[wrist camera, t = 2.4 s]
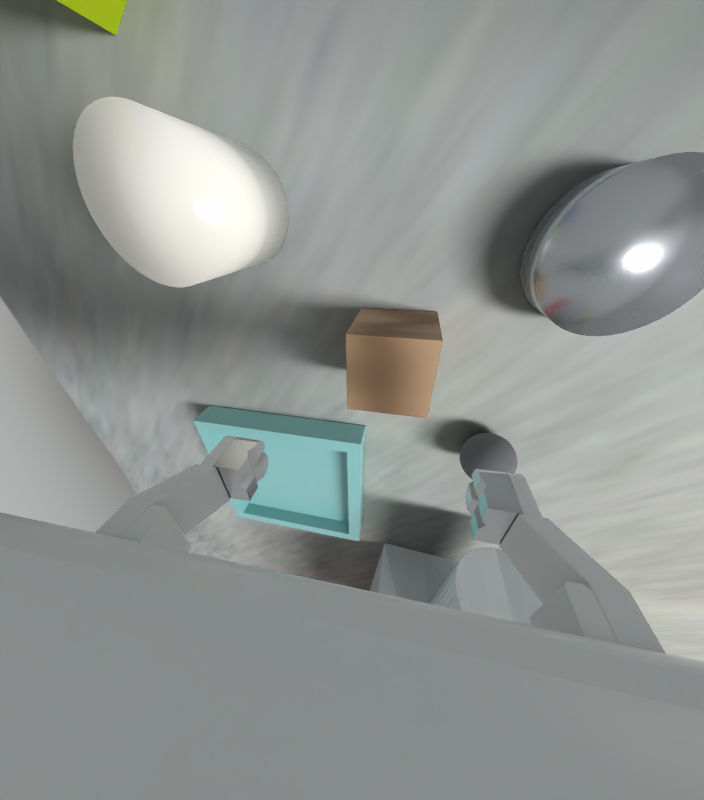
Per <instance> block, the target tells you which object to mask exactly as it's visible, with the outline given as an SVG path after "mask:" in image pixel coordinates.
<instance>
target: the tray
mask: <svg viewBox="0 0 704 800" xmlns="http://www.w3.org/2000/svg"><path fill="white" fill-rule="evenodd" d="M193 422H194V424H195V426H196V428H197V431H198V433H199V435H200V437H201V439H202V441H203V444H204V446H205V448H206V450H207V452H208V454H210V453H211V451H212V450H213V449H214V448H215V447H216V446H217V444H218V443H219V442H220V441H221V440H222V439H223V438H224V437H226V436H234V437H242V438H248V439H254V440H260V441H263V442H264V445H265V449H264V450H263V452H265V453H266V454H267V456H268V468H267V472H266V474H265V476H264V478H262V479H261V480H259V481H258V482H257V484H258V488H257V490H256V492H255V493H254V495H253V497H252V499H251V500H250V501H245V500H238V499H231V498H230V502H231V505H232V507H233V509H234V511H235V513H236V515H237V517H242V518H247V519H252V520H257V521H262V522H266V523H271V524H276V525H281V526H286V527H291V528H296V529H300V530H305V531H310V532H315V533H320V534H325V535H330V536H334V537H339V538H344V539H349V540H354V541H359V539H360V534H361V528H362V523H363V490H364V456H365V426H362V425H355V424H347V423H339V422H331V421H324V420H316V419H308V418H301V417H293V416H285V415H277V414H270V413H262V412H254V411H246V410H239V409H231V408H223V407H215V406H208V407H207V408H206V409H205V410H204V411H203V412H202V413H201V414H200V415H198V416H197V417H196V418H195V419H194V420H193Z"/></svg>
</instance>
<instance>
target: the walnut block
mask: <svg viewBox="0 0 704 800" xmlns="http://www.w3.org/2000/svg"><path fill="white" fill-rule="evenodd" d="M442 342H443V340H442V335H441V329H440V324H439V318H438V313H437V312H434V311H415V310H396V309H377V308H361V310H360V311H359V313H358V315H357V316H356V318H355V320H354V321H353V323H352V324H351V326H350V328H349V329H348V331H347V333H346V370H347V409H355V410H363V411H372V412H380V413H388V414H397V415H405V416H413V417H422V418H427V416H428V411H429V406H430V401H431V396H432V391H433V386H434V381H435V376H436V371H437V366H438V362H439V357H440V352H441V347H442Z"/></svg>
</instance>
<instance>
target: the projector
mask: <svg viewBox="0 0 704 800" xmlns="http://www.w3.org/2000/svg"><path fill="white" fill-rule="evenodd" d="M369 591H372V592H377V593H381V594H386V595H391V596H396V597H400V598H405V599H410V600H414V601H419V602H424V603H428V604H433V605H438V606H443V607H447V608H452V609H457V610H461V611H466V612H471V613H475V614H480V615H485V616H490V617H494V618H499V619H504V620H508V621H513V622H518V623H523V624H527V625H531V621H530V617H531V615H532V614H533V613H534V612H535V611H536V610H537V609H538V608H540V607H541V606H542V605H543V604H542V603H541V601H540V600H539V599H538V597H537V596H536V595H535V593H534V592H533V591H532V589H531V588H530V587H529V585H528V584H527V583H526V581H525V580H524V579H523V577H522V576H521V574H520V573H519V572H518V570H517V569H516V568H515V566H514V565H513V564H512V562H511V561H510V560H509V558H508V557H507V556H506V554H505V553H504V552H503V551H502V550H499V549H495V548H491V547H482V548H477V549H474V550H471V551H469V552H468V553H467V554H466V555H464V556H463V557H462V558H461V560H460V561H459V562H458V561H454V560H450V559H446V558H442V557H438V556H434V555H430V554H426V553H422V552H419V551H415V550H411V549H407V548H403V547H399V546H395V545H391V544H387V543H384V546H383V549H382V552H381V555H380V559H379V562H378V565H377V568H376V571H375V574H374V577H373V580H372V584H371V587H370V590H369Z"/></svg>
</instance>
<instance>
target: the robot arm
mask: <svg viewBox="0 0 704 800" xmlns="http://www.w3.org/2000/svg"><path fill="white" fill-rule="evenodd" d="M264 449H265V445H264V442H263V441H260V440H254V439H248V438H242V437H234V436H226V437H224V438H223V439H222V440H221V441H220V442H219V443H218V444H217V446H216V447H215V448H214V449H213V450H212V451H211V453H210V454H209V455H208V456H207V457H206V458H205V460H204V461H203V462H202V463H201V464H200V465H198V464H196V465H194V466H192V467H190V468H188V469H186V470H185V471H183V472H181V473H179V474H177V475H175V476H173V477H171V478H169V479H167V480H165V481H163V482H161V483H159V484H157V485H155V486H153V487H151V488H149V489H147V490H145V491H143V492H142V493H140V494H138V495H136V496H134V497H132V498H130V499H129V500H128V501H127V502H125V504H124V505H123V506H122V507H120V509H118V511H116V512H115V513H114V514H113V515H112V516H111V517H110V518H109V519H108V520H107V521H106V522H105V523H104V524H103V525H102V526H101V527H100V529H98V530H97V531H96V532H95V533H94V532H89V531H85V530H80V529H75V528H70V527H66V526H61V525H56V524H51V523H47V522H42V521H37V520H33V519H28V518H23V517H19V516H14V515H10V514H4V513H0V800H704V662H701V661H697V660H692V659H687V658H683V657H678V656H673V655H668V654H666V653H665V652H664V650H663V648H662V647H661V645H660V643H659V641H658V640H657V638H656V636H655V634H654V633H653V631H652V629H651V628H650V626H649V624H648V622H647V621H646V619H645V617H644V616H643V614H642V612H641V610H640V609H639V607H638V605H637V604H636V602H635V600H634V598H633V597H632V595H631V593H630V592H629V591H628V590H627V589H626V588H625V587H624V586H623V585H622V584H620V583H619V582H618V581H617V580H616V579H615V578H614V577H613V576H611V575H610V574H609V573H608V572H607V571H606V570H605V569H604V568H603V567H601V566H600V565H599V564H598V563H597V562H596V561H595V560H594V559H592V558H591V557H590V556H589V555H588V554H587V553H586V552H585V551H584V550H582V549H581V548H580V547H579V546H578V545H577V544H576V543H575V542H573V541H572V540H571V539H570V538H569V537H568V536H567V535H566V534H565V533H563V532H562V531H561V530H560V529H559V528H558V527H557V526H556V525H554V524H553V523H552V522H551V521H550V520H549V519H548V518H543V517H542V515H541V513H540V511H539V508H538V506H537V504H536V502H535V499H534V497H533V495H532V493H531V490H530V488H529V486H528V484H527V481H526V479H525V477H524V476H523V475H521V474H513V473H505V472H497V471H489V470H481V469H475V470H474V472H473V474H472V479H473V482H471V483H469V484H468V487H467V491H466V505H467V510H468V511H469V512H470V513H471V514H472V517H471V519H470V526H471V531H472V536H473V540H478V541H483V542H488V543H493V544H498V545H500V548H501V549H502V550H503V552H504V553H505V554H506V556H507V557H508V558H509V560H510V561H511V562H512V564H513V565H514V566H515V568H516V569H517V570H518V572H519V573H520V574H521V576H522V577H523V579H524V580H525V581H526V583H527V584H528V585H529V587H530V588H531V589H532V591H533V592H534V593H535V595H536V596H537V597H538V599H539V600H540V601H541V603H542V604H543V605H542V606H541V607H540V608H538V609H537V610H536V611H535V612H534V613H533V614H532V615H531V617H530V621H531V625H527V624H523V623H518V622H513V621H508V620H504V619H499V618H494V617H490V616H485V615H480V614H475V613H471V612H466V611H461V610H457V609H452V608H447V607H443V606H438V605H433V604H428V603H424V602H419V601H414V600H410V599H405V598H400V597H396V596H391V595H386V594H381V593H377V592H372V591H367V590H363V589H358V588H353V587H349V586H344V585H339V584H334V583H330V582H325V581H320V580H316V579H311V578H306V577H302V576H297V575H292V574H287V573H283V572H278V571H273V570H269V569H264V568H259V567H254V566H250V565H245V564H240V563H236V562H231V561H226V560H221V559H217V558H212V557H207V556H203V555H198V554H193V553H188V551H189V550H190V548H191V543H190V542H189V541H188V539H187V538H186V536H185V534H186V533H187V532H189V531H190V530H191V529H193V528H194V527H195V526H196V525H198V524H199V523H200V522H202V521H203V520H204V519H205V518H207V517H208V516H209V515H211V514H212V513H213V512H215V511H216V510H217V509H218V508H220V507H221V506H222V505H224V504H225V503H226V502H227V501H229V500H230V498H231V499H238V500H245V501H250V500H251V499H252V497H253V495H254V493H255V492H256V490H257V488H258V484H257V482H258V481H259V480H261V479H262V478H264V476H265V474H266V472H267V468H268V456H267V454H266V453H265V452H263V450H264Z"/></svg>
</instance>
